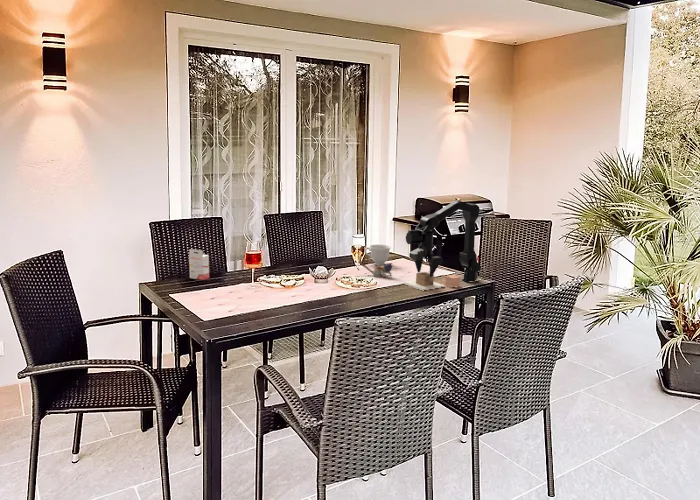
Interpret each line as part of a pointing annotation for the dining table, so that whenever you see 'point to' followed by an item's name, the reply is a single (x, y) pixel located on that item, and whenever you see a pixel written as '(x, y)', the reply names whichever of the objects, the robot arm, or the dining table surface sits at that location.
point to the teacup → (379, 253)
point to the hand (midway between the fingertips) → (424, 274)
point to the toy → (380, 270)
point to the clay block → (452, 280)
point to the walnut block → (424, 279)
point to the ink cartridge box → (198, 265)
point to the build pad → (420, 287)
